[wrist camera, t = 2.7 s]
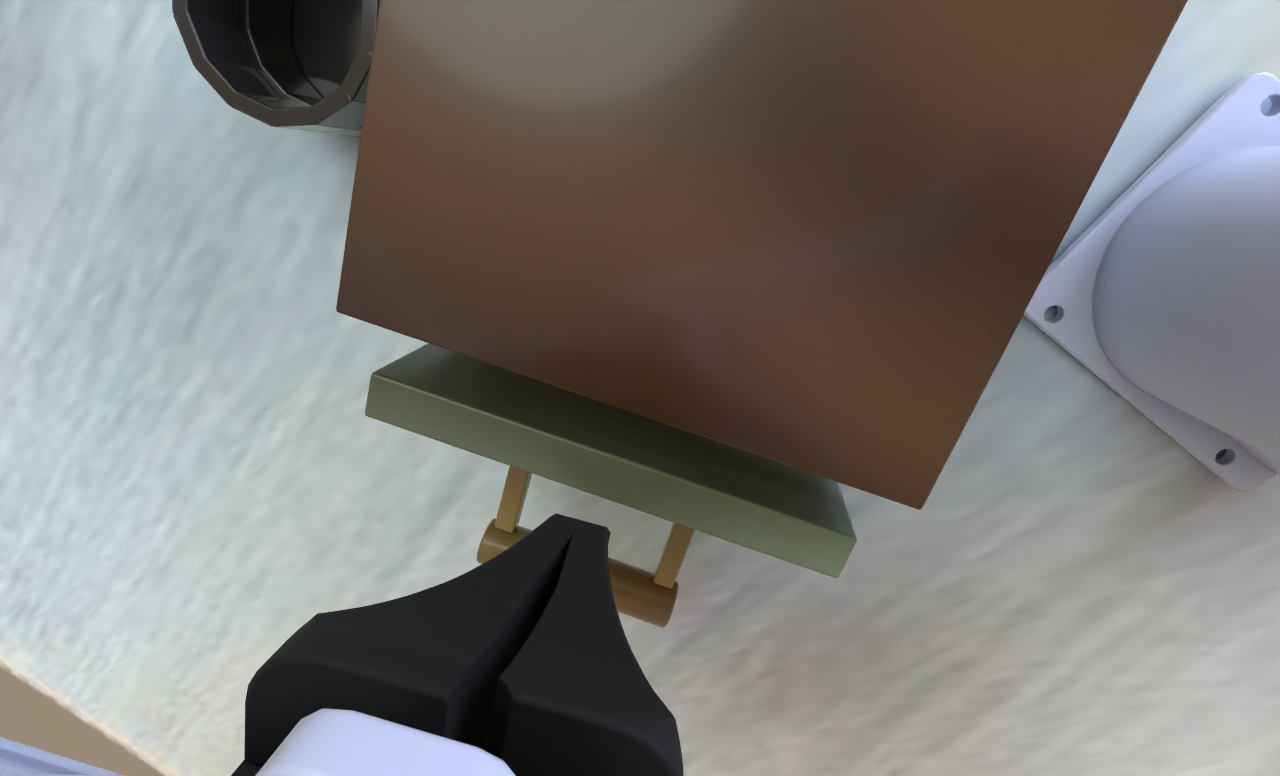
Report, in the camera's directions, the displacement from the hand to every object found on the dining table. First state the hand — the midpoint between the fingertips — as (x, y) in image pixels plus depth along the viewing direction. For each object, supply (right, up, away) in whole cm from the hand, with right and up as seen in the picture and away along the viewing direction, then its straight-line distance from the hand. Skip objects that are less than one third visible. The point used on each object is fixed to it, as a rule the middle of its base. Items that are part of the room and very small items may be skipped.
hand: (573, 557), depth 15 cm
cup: (-7, +15, +5) cm, 17 cm away
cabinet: (+4, +12, +4) cm, 13 cm away
